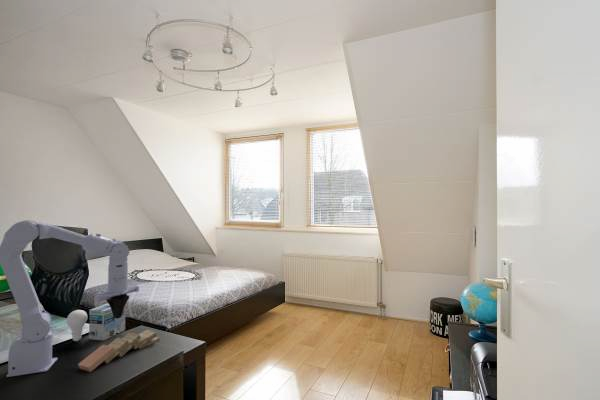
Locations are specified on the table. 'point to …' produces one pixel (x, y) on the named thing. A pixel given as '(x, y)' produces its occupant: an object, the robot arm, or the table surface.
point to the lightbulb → (77, 323)
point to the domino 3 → (132, 341)
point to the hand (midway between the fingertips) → (117, 317)
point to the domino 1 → (96, 358)
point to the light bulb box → (104, 323)
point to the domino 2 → (116, 348)
